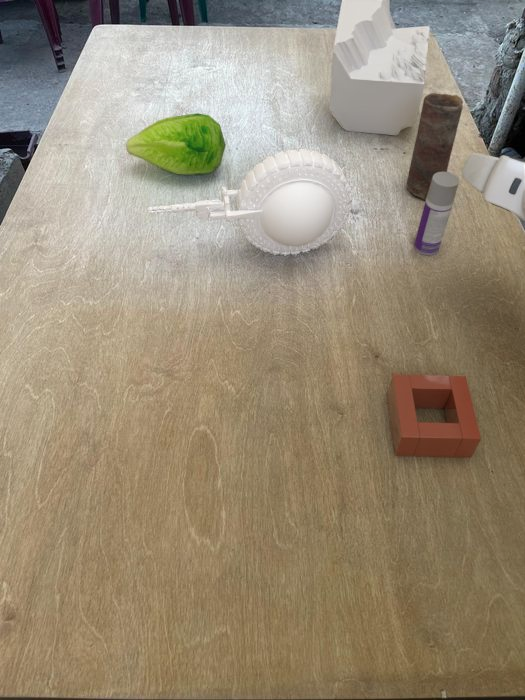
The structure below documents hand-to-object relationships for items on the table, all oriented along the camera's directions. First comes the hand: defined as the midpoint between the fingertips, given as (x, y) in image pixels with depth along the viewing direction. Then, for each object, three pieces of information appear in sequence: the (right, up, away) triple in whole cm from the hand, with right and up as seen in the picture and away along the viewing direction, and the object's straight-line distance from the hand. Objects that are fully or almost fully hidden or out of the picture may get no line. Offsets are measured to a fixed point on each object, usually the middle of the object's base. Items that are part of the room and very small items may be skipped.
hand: (510, 174), depth 99 cm
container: (-9, -9, +18) cm, 22 cm away
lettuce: (-57, +10, +33) cm, 67 cm away
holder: (-15, -39, -8) cm, 43 cm away
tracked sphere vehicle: (-42, -10, +16) cm, 46 cm away
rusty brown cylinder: (-6, +5, +30) cm, 31 cm away
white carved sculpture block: (-14, +24, +46) cm, 54 cm away
